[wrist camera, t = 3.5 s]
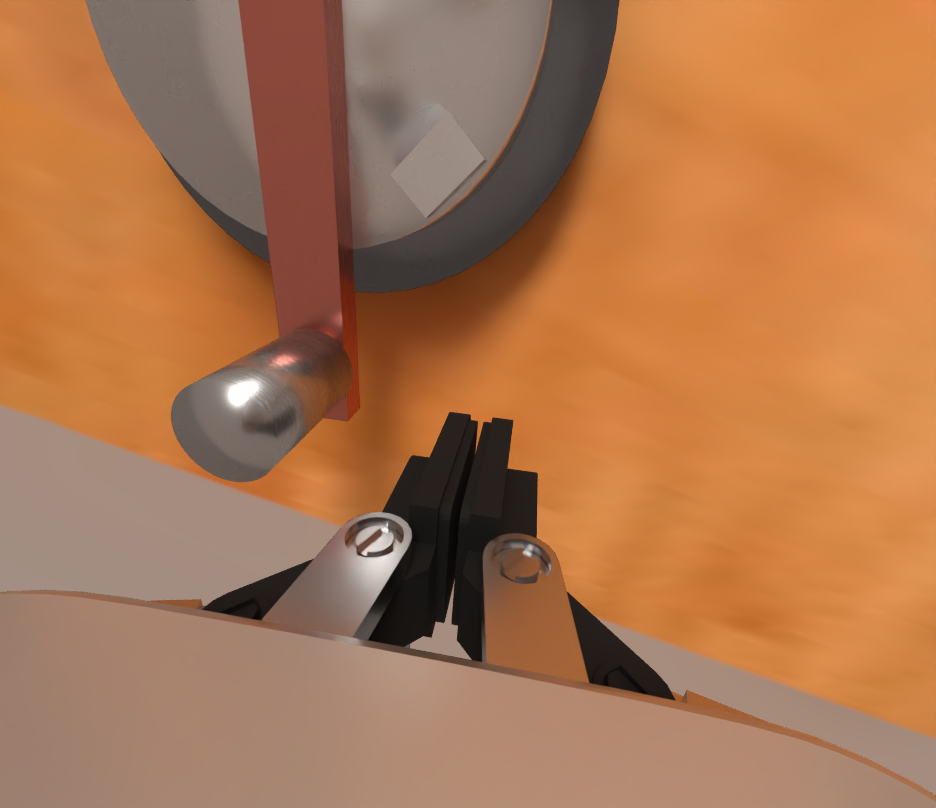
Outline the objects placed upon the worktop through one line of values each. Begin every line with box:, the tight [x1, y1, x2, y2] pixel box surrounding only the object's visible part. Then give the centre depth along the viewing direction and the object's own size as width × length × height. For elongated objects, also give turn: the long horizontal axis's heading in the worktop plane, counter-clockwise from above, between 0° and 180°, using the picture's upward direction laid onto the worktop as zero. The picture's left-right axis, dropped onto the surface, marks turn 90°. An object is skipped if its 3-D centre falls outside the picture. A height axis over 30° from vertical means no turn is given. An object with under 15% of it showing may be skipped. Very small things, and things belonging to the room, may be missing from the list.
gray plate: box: [160, 0, 619, 293], centre depth 16 cm, size 18×18×3 cm
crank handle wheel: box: [86, 0, 553, 482], centre depth 12 cm, size 14×20×9 cm
